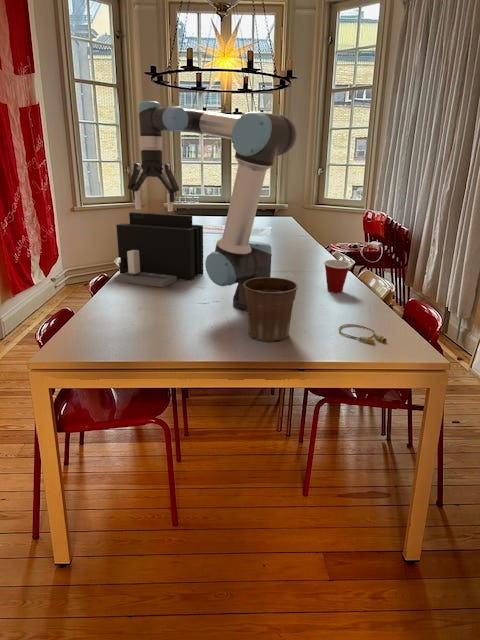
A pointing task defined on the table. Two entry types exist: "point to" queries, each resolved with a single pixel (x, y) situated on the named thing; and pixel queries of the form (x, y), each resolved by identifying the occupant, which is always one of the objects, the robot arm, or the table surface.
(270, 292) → the plant pot
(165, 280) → the fader panel
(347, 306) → the table surface
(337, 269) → the plastic cup
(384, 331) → the table surface
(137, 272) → the fader
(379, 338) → the looped cable
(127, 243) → the game console
